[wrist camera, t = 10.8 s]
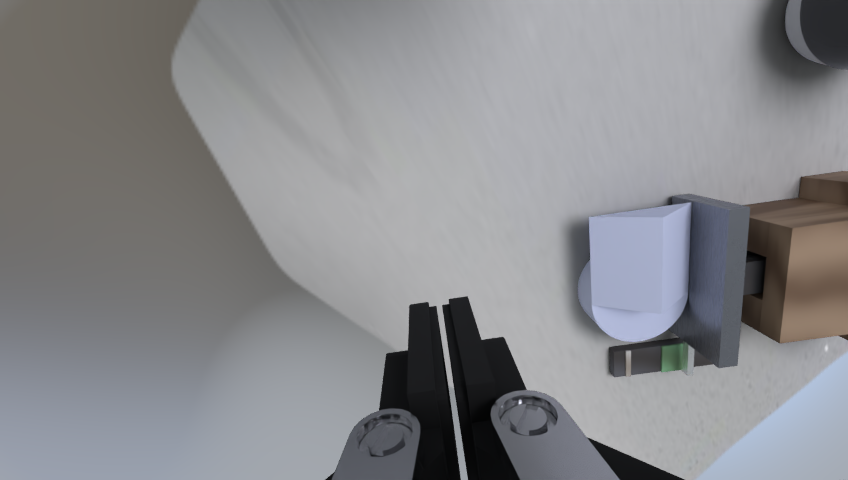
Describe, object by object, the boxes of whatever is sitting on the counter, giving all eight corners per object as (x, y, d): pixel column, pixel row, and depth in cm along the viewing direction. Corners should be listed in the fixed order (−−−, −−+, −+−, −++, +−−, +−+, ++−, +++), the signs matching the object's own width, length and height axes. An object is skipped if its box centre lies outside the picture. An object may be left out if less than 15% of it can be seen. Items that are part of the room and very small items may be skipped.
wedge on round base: (573, 209, 38) (579, 330, 41) (606, 225, 31) (609, 367, 35) (667, 196, 38) (665, 318, 41) (720, 209, 31) (712, 353, 35)
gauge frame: (607, 203, 38) (656, 221, 30) (843, 171, 37) (955, 180, 30) (609, 371, 42) (653, 424, 35) (819, 343, 42) (909, 390, 34)
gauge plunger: (672, 196, 37) (729, 209, 30) (782, 180, 37) (865, 191, 30) (667, 362, 42) (716, 407, 35) (765, 349, 42) (833, 391, 35)
